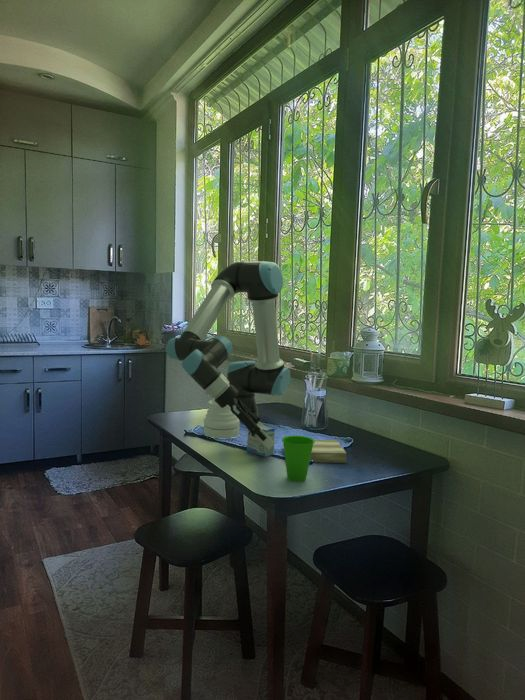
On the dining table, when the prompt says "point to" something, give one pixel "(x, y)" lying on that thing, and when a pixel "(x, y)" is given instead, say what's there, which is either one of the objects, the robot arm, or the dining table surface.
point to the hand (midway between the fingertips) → (270, 441)
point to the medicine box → (256, 445)
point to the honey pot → (220, 421)
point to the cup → (297, 456)
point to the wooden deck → (327, 451)
